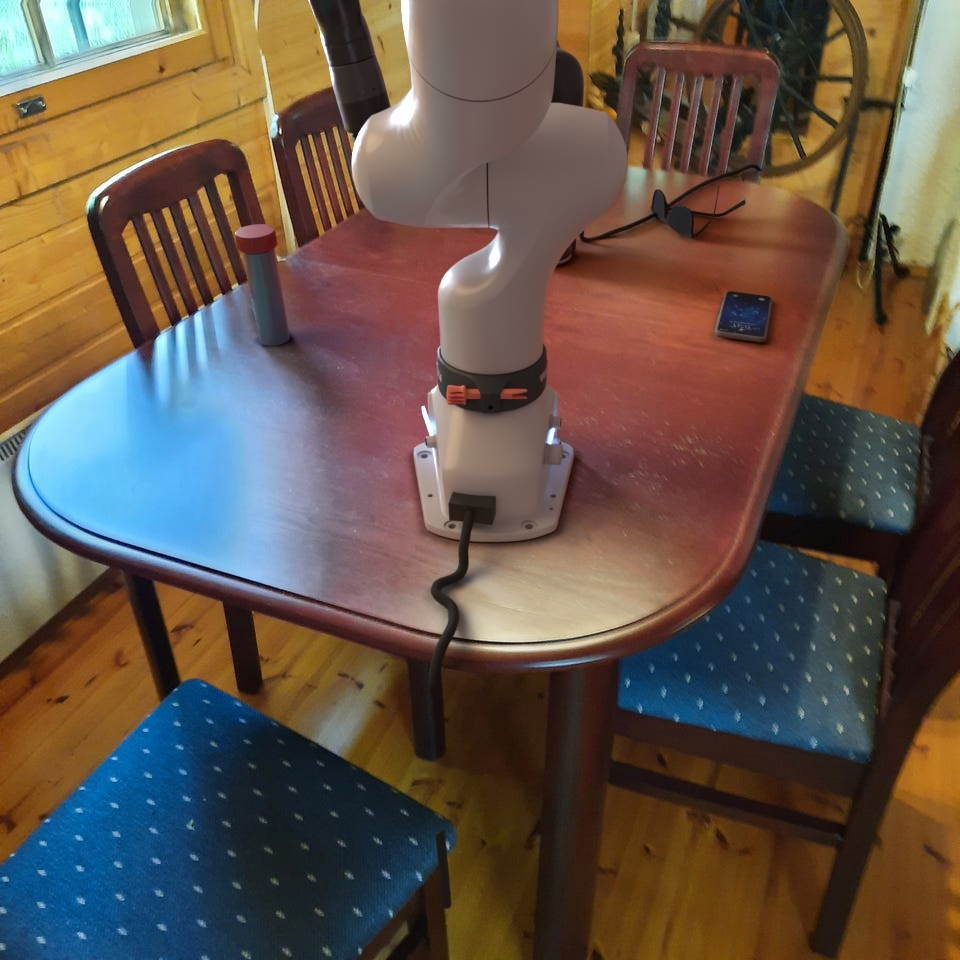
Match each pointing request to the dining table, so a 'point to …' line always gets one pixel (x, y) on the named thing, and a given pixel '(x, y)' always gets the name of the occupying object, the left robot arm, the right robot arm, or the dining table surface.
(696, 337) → the dining table surface
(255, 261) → the bottle
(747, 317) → the smartphone
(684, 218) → the sunglasses
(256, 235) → the lid
